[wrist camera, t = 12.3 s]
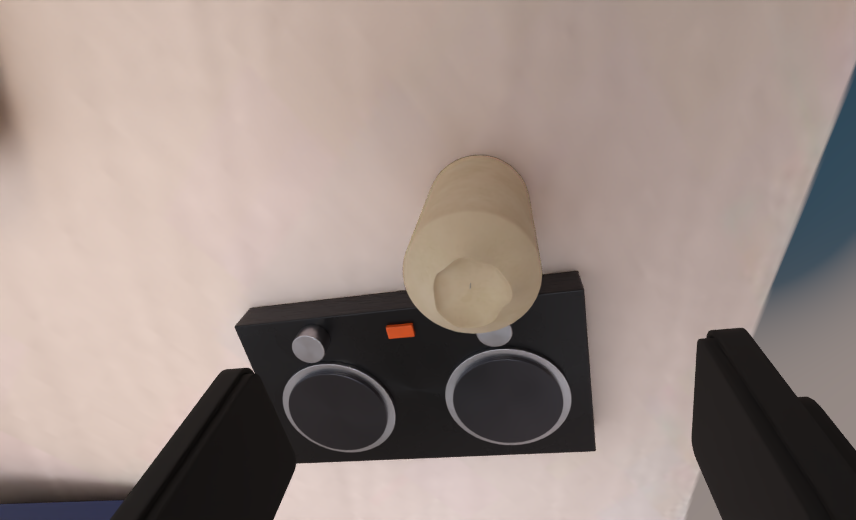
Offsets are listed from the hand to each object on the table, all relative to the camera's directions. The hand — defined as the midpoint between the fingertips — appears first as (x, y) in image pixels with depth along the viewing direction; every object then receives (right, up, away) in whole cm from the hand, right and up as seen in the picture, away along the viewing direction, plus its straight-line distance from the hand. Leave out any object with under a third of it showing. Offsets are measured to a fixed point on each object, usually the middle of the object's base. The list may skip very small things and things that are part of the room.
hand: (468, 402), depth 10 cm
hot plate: (-1, -4, +22) cm, 22 cm away
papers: (-33, -27, +38) cm, 57 cm away
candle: (+2, +6, +17) cm, 18 cm away
